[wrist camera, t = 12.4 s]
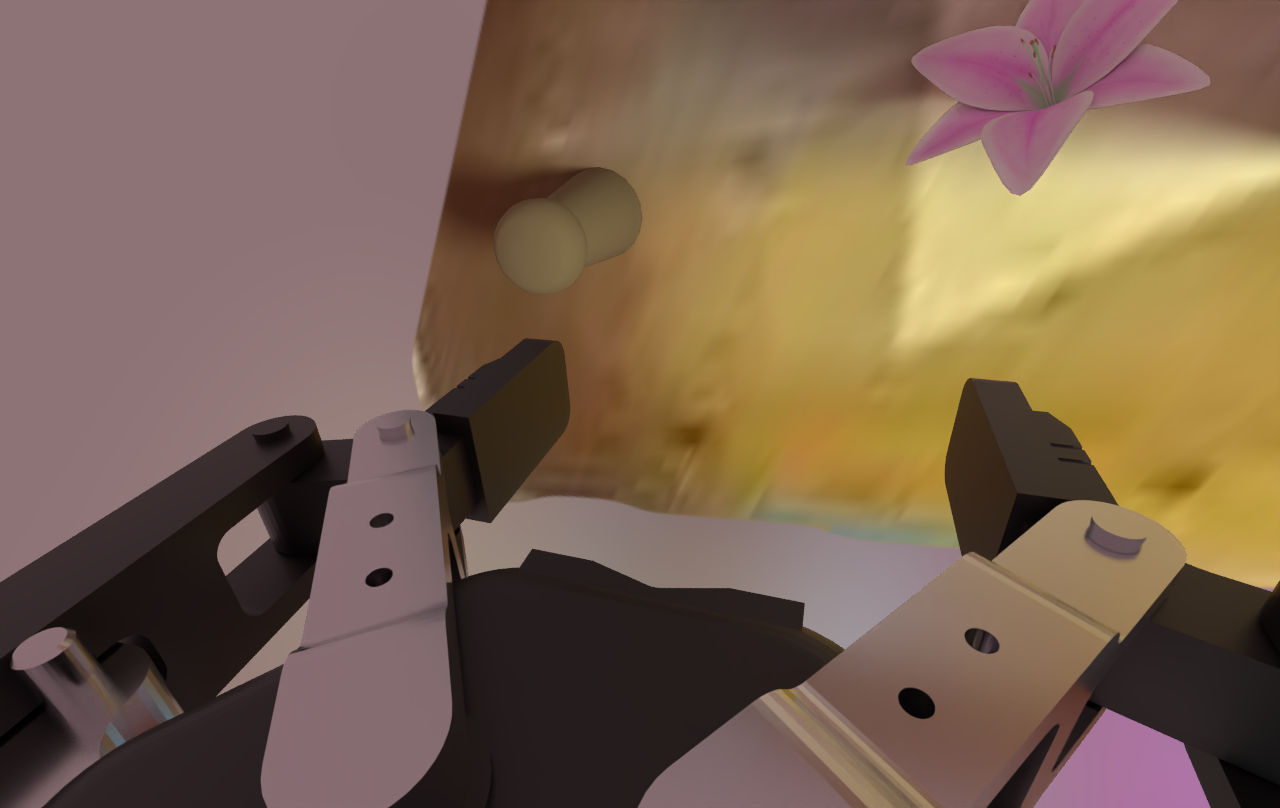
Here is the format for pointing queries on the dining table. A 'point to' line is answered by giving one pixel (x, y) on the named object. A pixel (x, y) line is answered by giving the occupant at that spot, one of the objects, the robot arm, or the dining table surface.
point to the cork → (567, 231)
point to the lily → (1046, 79)
